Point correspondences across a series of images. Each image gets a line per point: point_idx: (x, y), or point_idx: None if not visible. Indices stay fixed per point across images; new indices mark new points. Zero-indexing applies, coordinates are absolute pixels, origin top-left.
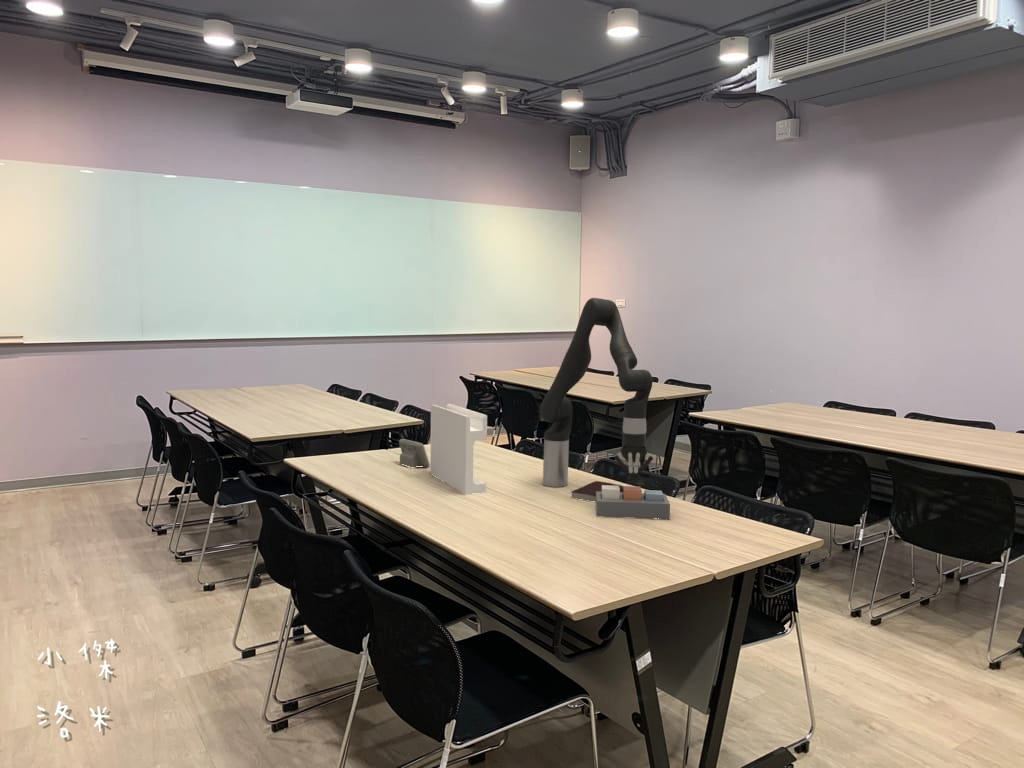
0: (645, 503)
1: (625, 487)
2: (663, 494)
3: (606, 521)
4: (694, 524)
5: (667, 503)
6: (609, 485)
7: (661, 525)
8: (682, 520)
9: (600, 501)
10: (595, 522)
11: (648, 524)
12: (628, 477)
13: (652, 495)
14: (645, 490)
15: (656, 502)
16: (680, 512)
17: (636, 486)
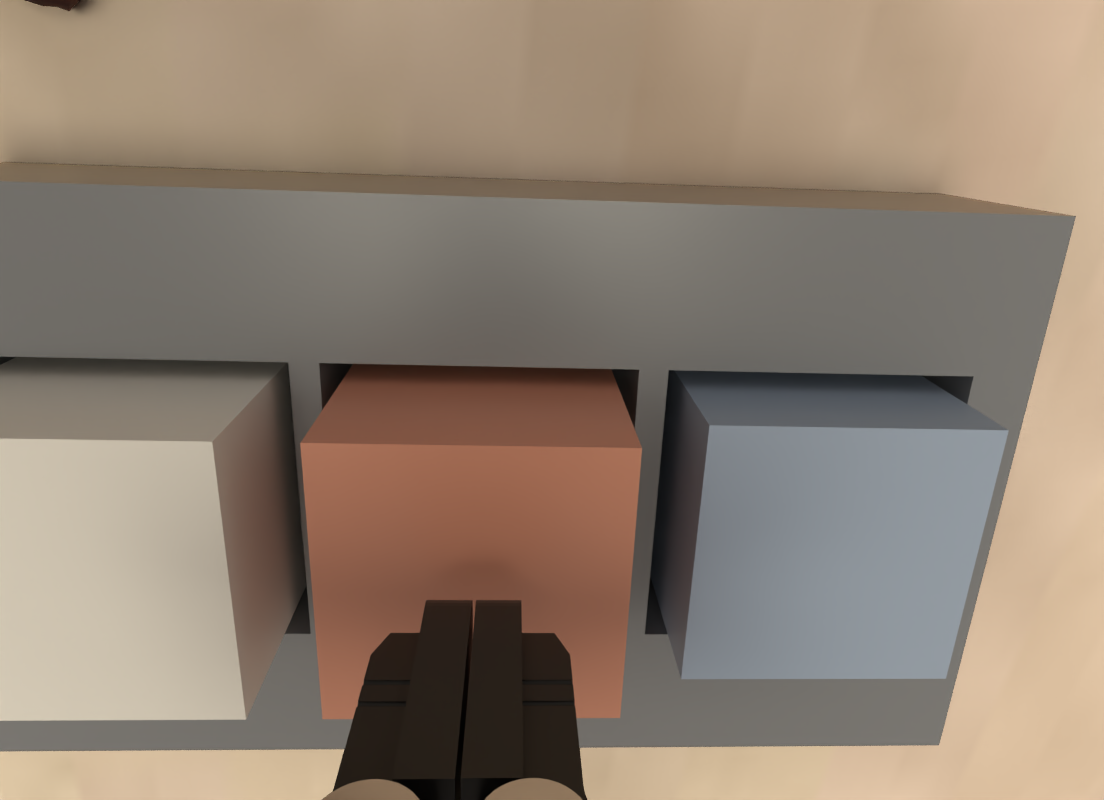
0: (633, 745)
1: (347, 554)
2: (1034, 245)
3: (217, 752)
4: (1044, 725)
5: (917, 719)
6: (16, 445)
7: (728, 790)
8: (979, 627)
9: (36, 749)
10: (114, 792)
11: (615, 780)
12: (359, 711)
13: (775, 667)
14: (721, 454)
15: (786, 696)
16: (1078, 338)
17: (568, 448)
